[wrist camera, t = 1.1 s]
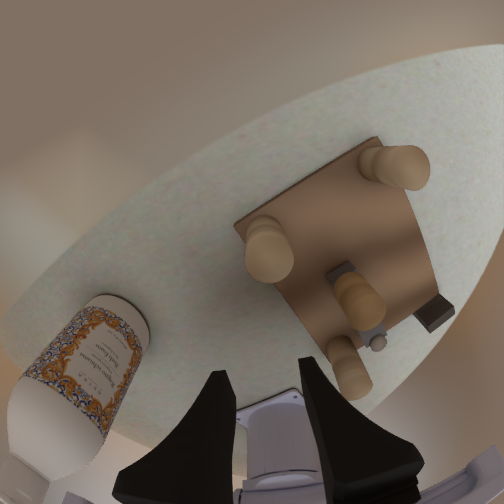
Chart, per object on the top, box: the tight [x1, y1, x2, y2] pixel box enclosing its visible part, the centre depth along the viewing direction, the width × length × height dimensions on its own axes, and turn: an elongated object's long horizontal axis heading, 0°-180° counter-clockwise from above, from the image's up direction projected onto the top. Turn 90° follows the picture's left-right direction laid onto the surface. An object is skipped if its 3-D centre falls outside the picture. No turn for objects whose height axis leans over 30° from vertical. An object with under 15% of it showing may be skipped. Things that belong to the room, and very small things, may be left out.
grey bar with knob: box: [326, 261, 387, 352], centre depth 17 cm, size 8×2×5 cm, turn 34°
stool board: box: [234, 136, 455, 401], centre depth 17 cm, size 16×12×6 cm
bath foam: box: [0, 295, 149, 504], centre depth 13 cm, size 7×7×20 cm
